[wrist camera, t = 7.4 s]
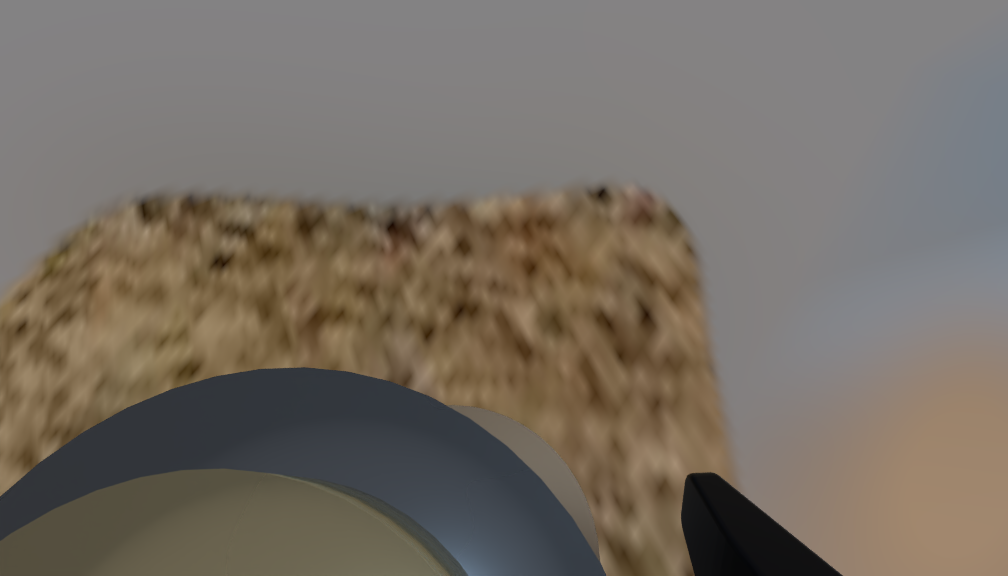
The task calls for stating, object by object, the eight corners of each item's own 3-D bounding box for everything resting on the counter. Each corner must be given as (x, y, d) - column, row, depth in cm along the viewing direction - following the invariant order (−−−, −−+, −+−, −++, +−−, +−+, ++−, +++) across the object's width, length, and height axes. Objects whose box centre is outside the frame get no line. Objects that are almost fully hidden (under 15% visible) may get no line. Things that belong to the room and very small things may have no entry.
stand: (554, 757, 16) (560, 792, 14) (273, 664, 17) (243, 684, 15) (614, 453, 19) (626, 448, 17) (371, 385, 19) (357, 373, 18)
